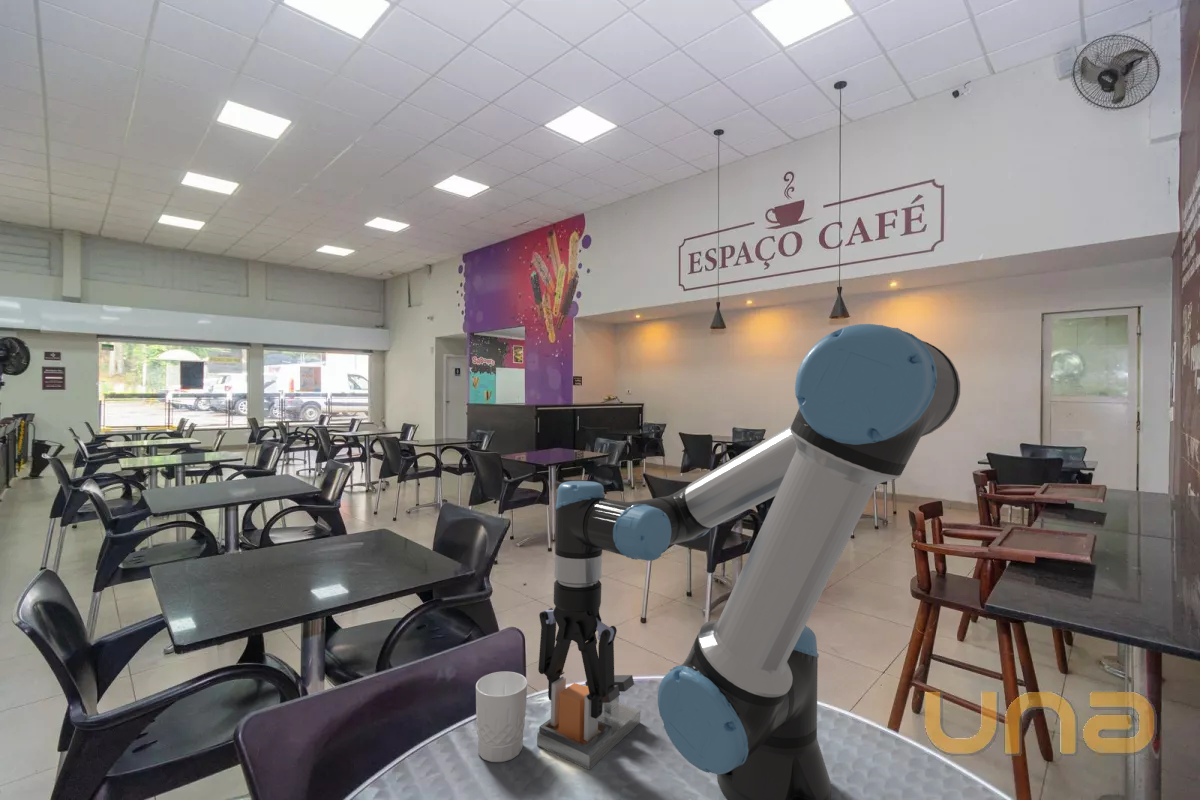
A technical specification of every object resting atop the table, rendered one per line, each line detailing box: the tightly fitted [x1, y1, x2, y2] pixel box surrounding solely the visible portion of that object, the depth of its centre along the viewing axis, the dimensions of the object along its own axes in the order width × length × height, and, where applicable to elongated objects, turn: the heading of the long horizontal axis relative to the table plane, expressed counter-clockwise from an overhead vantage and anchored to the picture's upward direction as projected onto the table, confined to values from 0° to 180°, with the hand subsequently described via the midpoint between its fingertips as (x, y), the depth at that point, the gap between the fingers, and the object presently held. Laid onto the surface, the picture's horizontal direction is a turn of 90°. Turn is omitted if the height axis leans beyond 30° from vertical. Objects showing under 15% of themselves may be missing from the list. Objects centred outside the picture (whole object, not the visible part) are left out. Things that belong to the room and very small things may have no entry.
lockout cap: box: [559, 682, 589, 741], centre depth 84 cm, size 4×4×6 cm
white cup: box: [475, 671, 528, 763], centre depth 82 cm, size 8×8×10 cm
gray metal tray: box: [536, 695, 641, 771], centre depth 87 cm, size 10×15×4 cm, turn 146°
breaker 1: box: [585, 674, 635, 693], centre depth 91 cm, size 8×3×2 cm, turn 57°
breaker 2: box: [584, 685, 621, 703], centre depth 88 cm, size 8×3×2 cm, turn 57°
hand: (573, 728), depth 83 cm, fingers open, 6 cm apart
